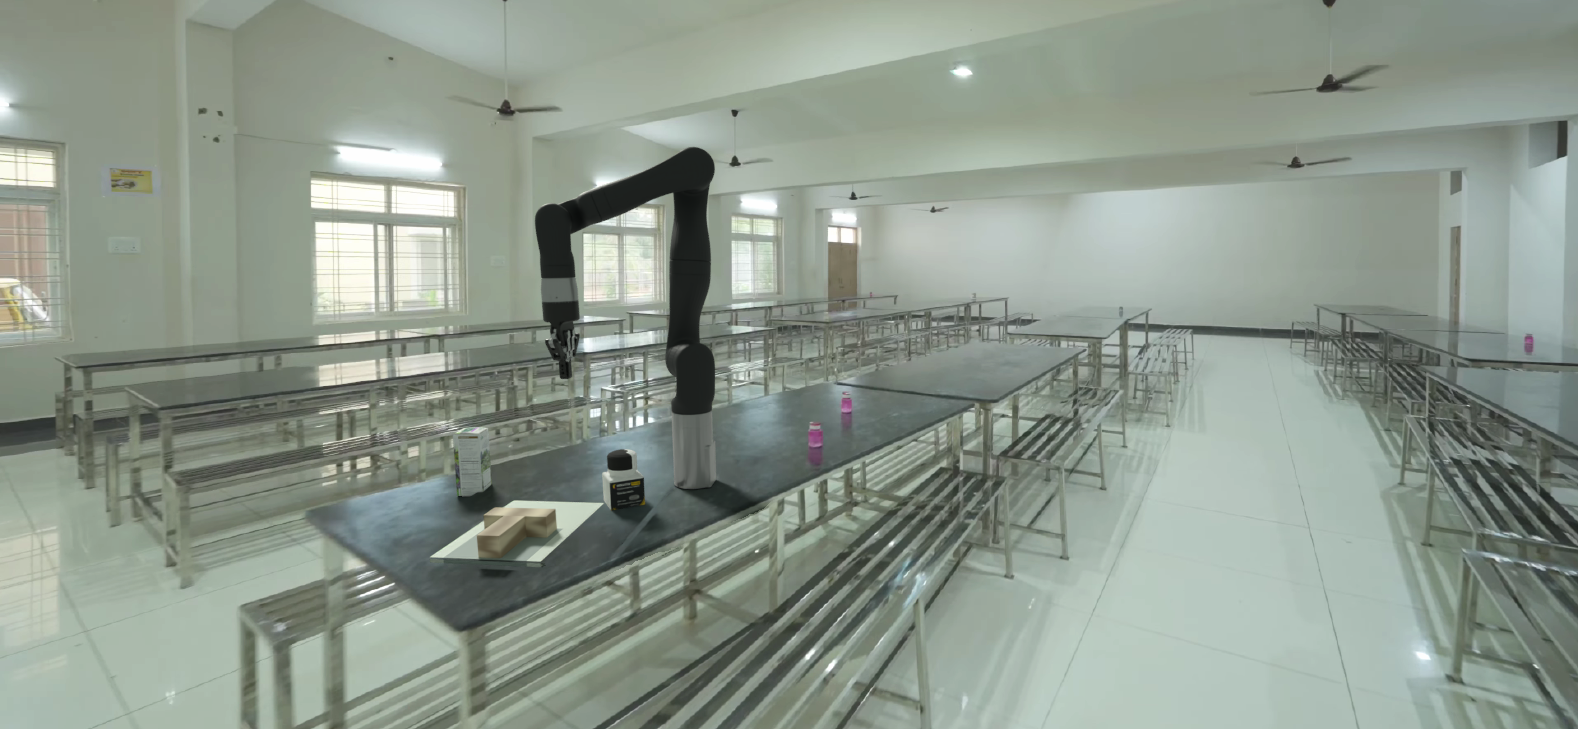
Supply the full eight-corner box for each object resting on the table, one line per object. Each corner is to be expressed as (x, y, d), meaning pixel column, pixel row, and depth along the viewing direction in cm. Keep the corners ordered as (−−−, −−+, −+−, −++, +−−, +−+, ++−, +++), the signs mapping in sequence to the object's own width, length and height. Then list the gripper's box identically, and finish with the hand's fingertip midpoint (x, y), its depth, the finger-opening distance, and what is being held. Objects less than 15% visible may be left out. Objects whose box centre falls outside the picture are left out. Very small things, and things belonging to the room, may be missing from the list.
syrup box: (466, 488, 153) (461, 427, 151) (493, 487, 153) (488, 426, 151) (456, 497, 147) (451, 433, 145) (484, 496, 148) (479, 432, 145)
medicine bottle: (611, 515, 135) (608, 458, 134) (603, 504, 142) (600, 449, 140) (645, 509, 139) (643, 453, 137) (636, 498, 145) (634, 445, 143)
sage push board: (604, 507, 140) (604, 503, 139) (541, 567, 112) (540, 561, 112) (514, 504, 142) (513, 500, 142) (430, 562, 114) (429, 557, 114)
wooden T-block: (556, 529, 126) (555, 508, 125) (523, 559, 113) (521, 536, 112) (496, 527, 127) (494, 507, 126) (456, 556, 114) (454, 534, 114)
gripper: (563, 300, 136) (570, 384, 139) (588, 297, 149) (594, 373, 152) (528, 301, 137) (535, 384, 140) (556, 297, 150) (562, 373, 153)
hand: (566, 378), depth 146 cm, fingers closed
